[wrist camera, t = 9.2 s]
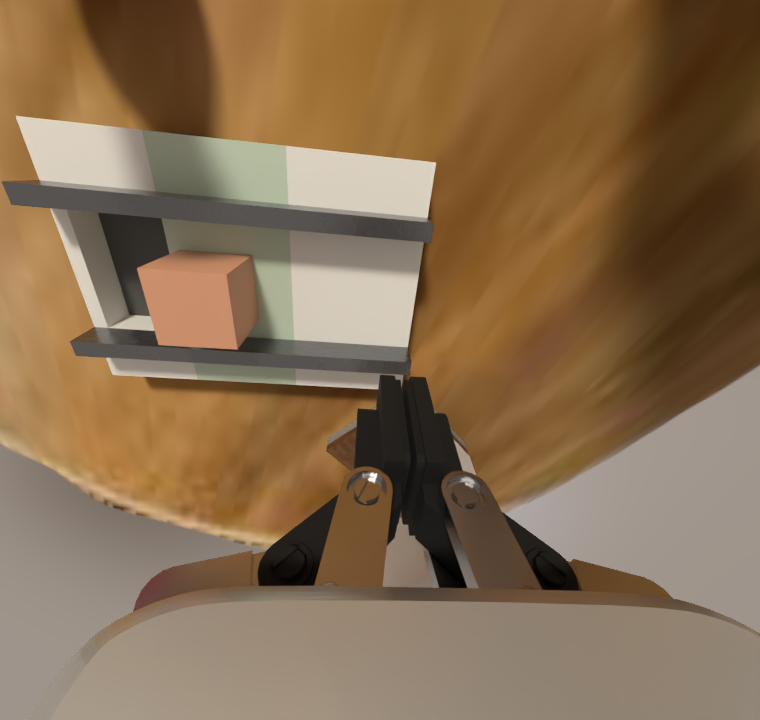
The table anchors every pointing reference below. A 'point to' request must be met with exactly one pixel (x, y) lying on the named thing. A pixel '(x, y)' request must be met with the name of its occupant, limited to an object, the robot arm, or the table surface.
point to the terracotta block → (201, 298)
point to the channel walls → (231, 213)
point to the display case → (404, 550)
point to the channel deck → (241, 238)
